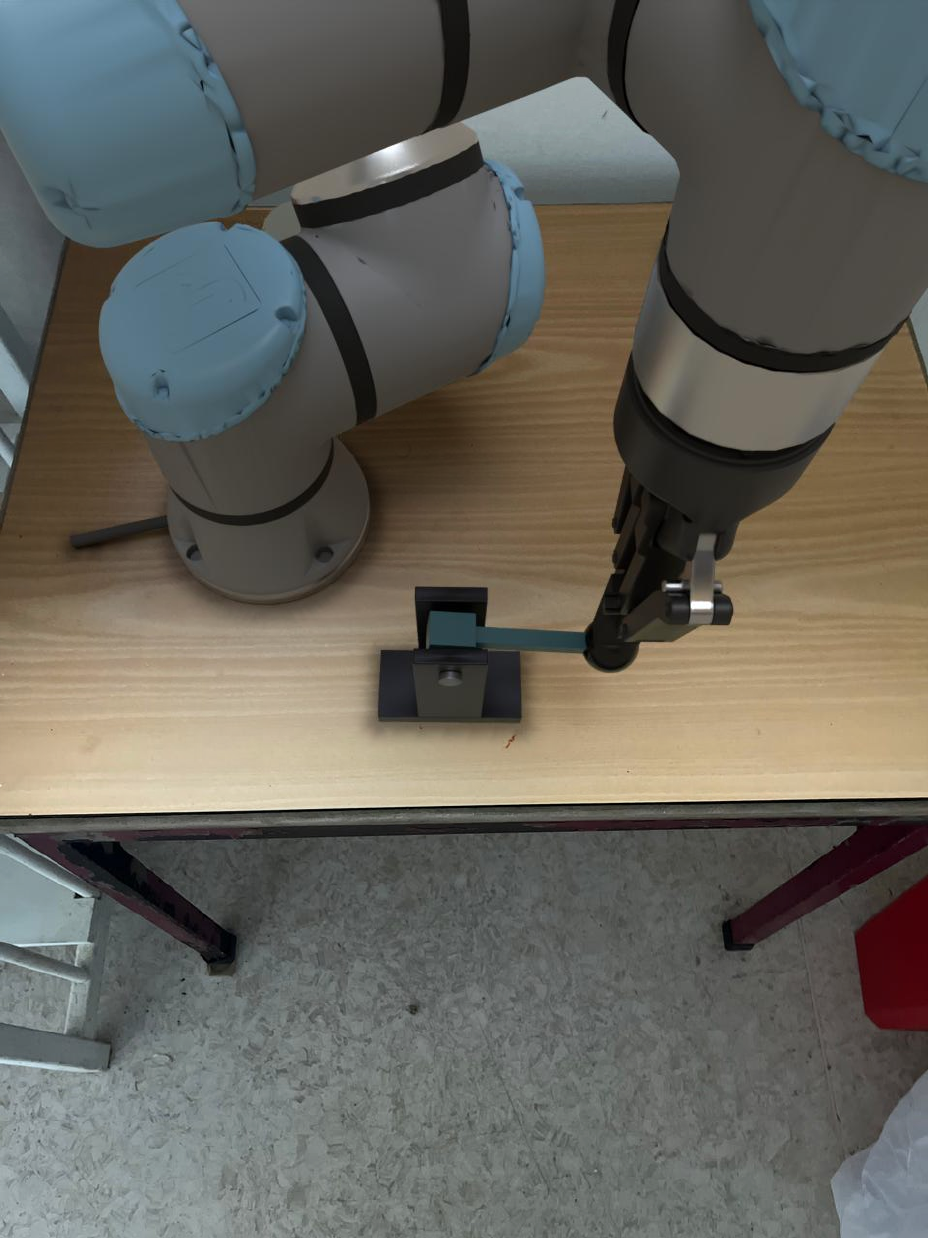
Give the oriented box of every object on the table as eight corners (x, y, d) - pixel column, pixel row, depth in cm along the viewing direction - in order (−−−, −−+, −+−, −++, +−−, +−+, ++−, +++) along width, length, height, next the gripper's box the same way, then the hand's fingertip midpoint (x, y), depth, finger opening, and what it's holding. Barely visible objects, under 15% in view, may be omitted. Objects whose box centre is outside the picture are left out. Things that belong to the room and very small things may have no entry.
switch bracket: (518, 650, 62) (533, 580, 51) (520, 730, 60) (536, 673, 49) (382, 649, 62) (368, 577, 51) (378, 728, 60) (363, 671, 49)
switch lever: (627, 630, 55) (644, 608, 52) (631, 682, 54) (649, 662, 51) (425, 619, 54) (431, 595, 51) (424, 672, 53) (429, 651, 49)
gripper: (882, 537, 27) (688, 739, 48) (815, 234, 32) (667, 539, 54) (645, 534, 27) (557, 738, 48) (617, 231, 32) (549, 537, 54)
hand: (615, 633), depth 51 cm, fingers closed
